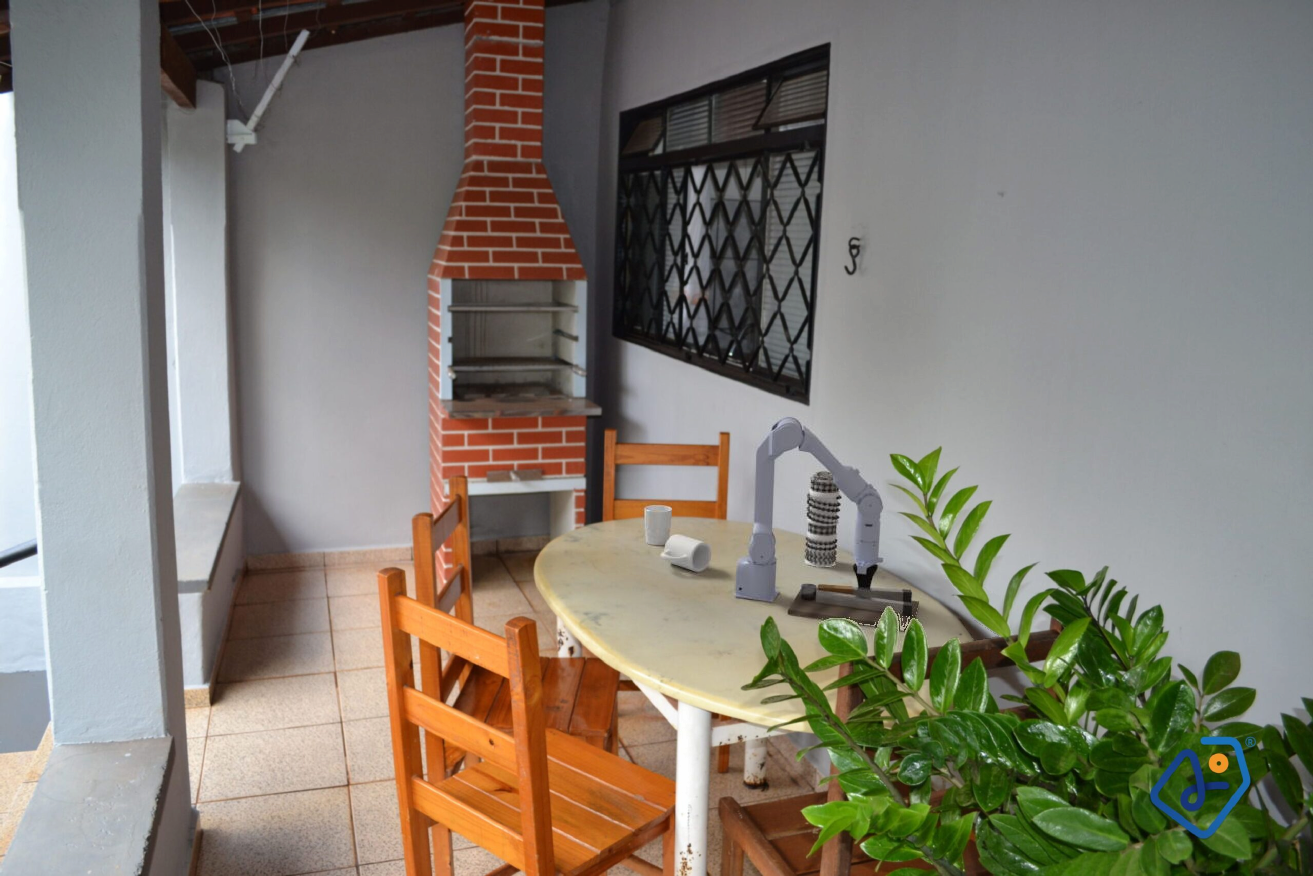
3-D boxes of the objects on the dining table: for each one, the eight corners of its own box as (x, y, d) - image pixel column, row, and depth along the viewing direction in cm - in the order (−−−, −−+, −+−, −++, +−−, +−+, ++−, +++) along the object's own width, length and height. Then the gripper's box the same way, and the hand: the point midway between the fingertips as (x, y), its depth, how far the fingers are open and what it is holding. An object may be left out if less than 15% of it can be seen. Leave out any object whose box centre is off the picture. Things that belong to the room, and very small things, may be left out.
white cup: (676, 541, 282) (677, 507, 280) (661, 547, 275) (662, 513, 273) (653, 536, 286) (653, 503, 284) (638, 542, 279) (638, 509, 277)
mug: (684, 559, 265) (684, 531, 264) (711, 568, 258) (712, 539, 257) (652, 568, 257) (653, 539, 255) (679, 578, 250) (680, 548, 248)
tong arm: (801, 599, 232) (801, 588, 231) (800, 593, 236) (800, 582, 235) (912, 606, 229) (913, 594, 229) (909, 600, 233) (910, 588, 233)
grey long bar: (815, 602, 231) (816, 592, 230) (817, 600, 232) (817, 590, 232) (911, 616, 223) (912, 605, 223) (912, 613, 225) (912, 603, 225)
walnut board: (787, 614, 226) (787, 609, 226) (802, 590, 243) (803, 585, 243) (911, 632, 217) (912, 627, 217) (918, 606, 234) (919, 601, 234)
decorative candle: (820, 556, 271) (825, 468, 267) (844, 565, 264) (850, 474, 259) (796, 561, 266) (800, 471, 262) (819, 570, 259) (825, 478, 254)
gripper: (880, 549, 224) (877, 606, 227) (887, 533, 238) (884, 586, 240) (849, 546, 227) (846, 602, 229) (858, 530, 240) (855, 583, 243)
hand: (863, 594), depth 235 cm, fingers closed
